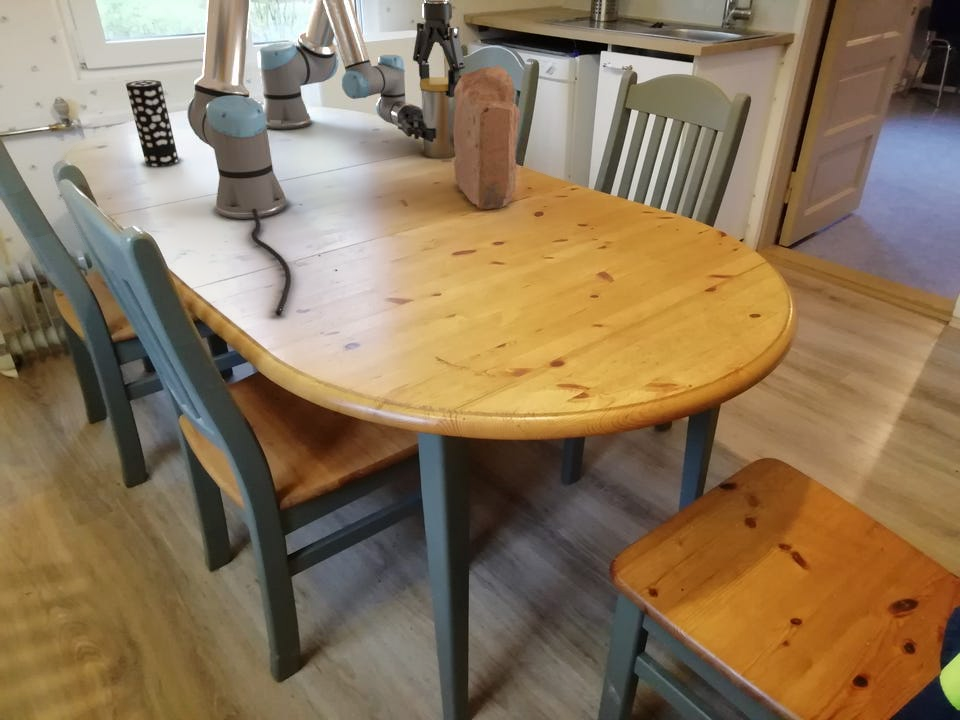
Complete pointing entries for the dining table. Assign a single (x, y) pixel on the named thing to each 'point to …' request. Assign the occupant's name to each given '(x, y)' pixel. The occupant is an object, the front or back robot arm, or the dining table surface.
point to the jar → (438, 123)
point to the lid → (434, 84)
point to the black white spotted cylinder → (152, 122)
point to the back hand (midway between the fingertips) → (447, 134)
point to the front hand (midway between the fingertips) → (438, 93)
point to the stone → (485, 137)
